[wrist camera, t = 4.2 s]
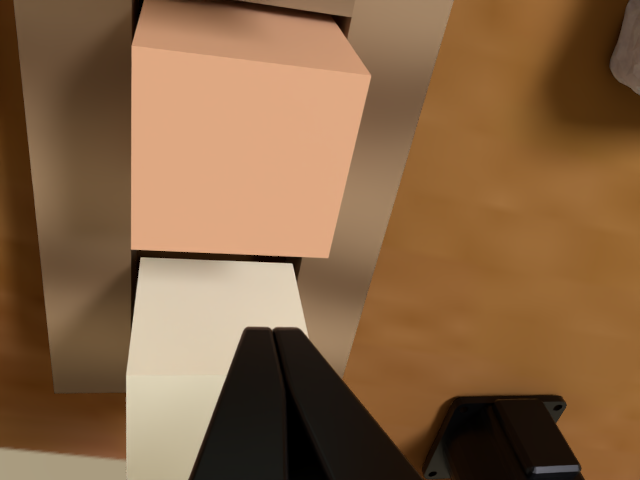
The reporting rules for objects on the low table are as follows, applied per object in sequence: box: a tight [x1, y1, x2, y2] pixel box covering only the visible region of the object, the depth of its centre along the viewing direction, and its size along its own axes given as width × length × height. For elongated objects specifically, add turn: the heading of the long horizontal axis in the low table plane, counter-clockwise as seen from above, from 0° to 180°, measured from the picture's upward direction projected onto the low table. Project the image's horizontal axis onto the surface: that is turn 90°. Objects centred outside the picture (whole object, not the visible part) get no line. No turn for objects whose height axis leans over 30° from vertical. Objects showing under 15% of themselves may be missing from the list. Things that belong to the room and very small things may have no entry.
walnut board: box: [13, 0, 454, 393], centre depth 17 cm, size 24×11×2 cm, turn 169°
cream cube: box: [126, 257, 309, 480], centre depth 19 cm, size 5×5×5 cm
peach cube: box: [131, 0, 371, 258], centre depth 16 cm, size 5×5×5 cm
